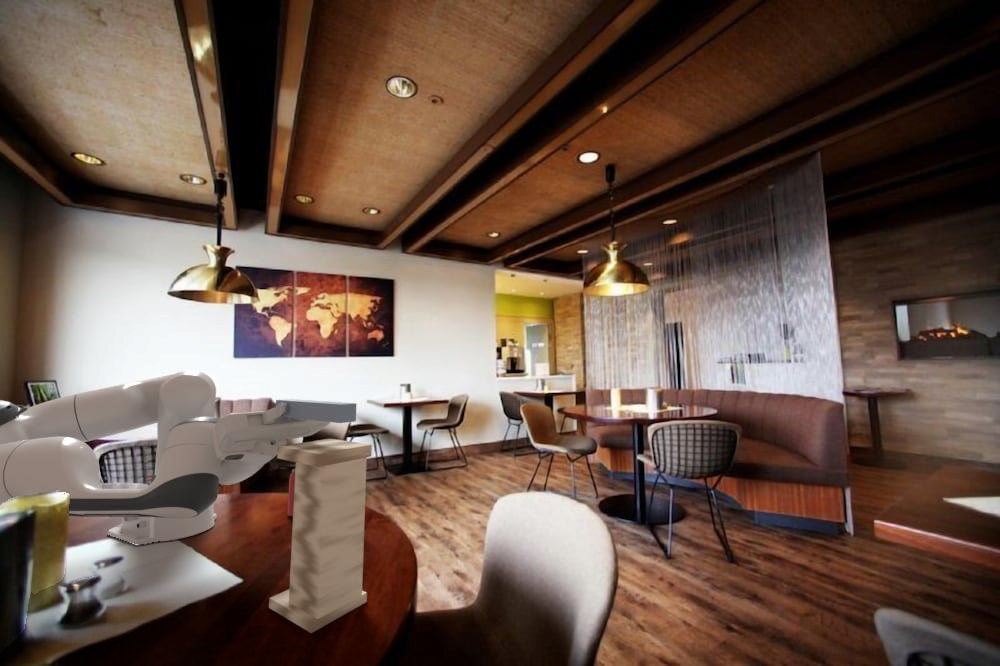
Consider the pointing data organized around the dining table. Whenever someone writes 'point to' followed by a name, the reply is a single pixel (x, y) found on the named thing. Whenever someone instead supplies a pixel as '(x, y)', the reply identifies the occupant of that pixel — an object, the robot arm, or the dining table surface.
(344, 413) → the block
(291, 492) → the beer can
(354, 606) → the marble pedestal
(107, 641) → the dining table surface
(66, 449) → the robot arm
